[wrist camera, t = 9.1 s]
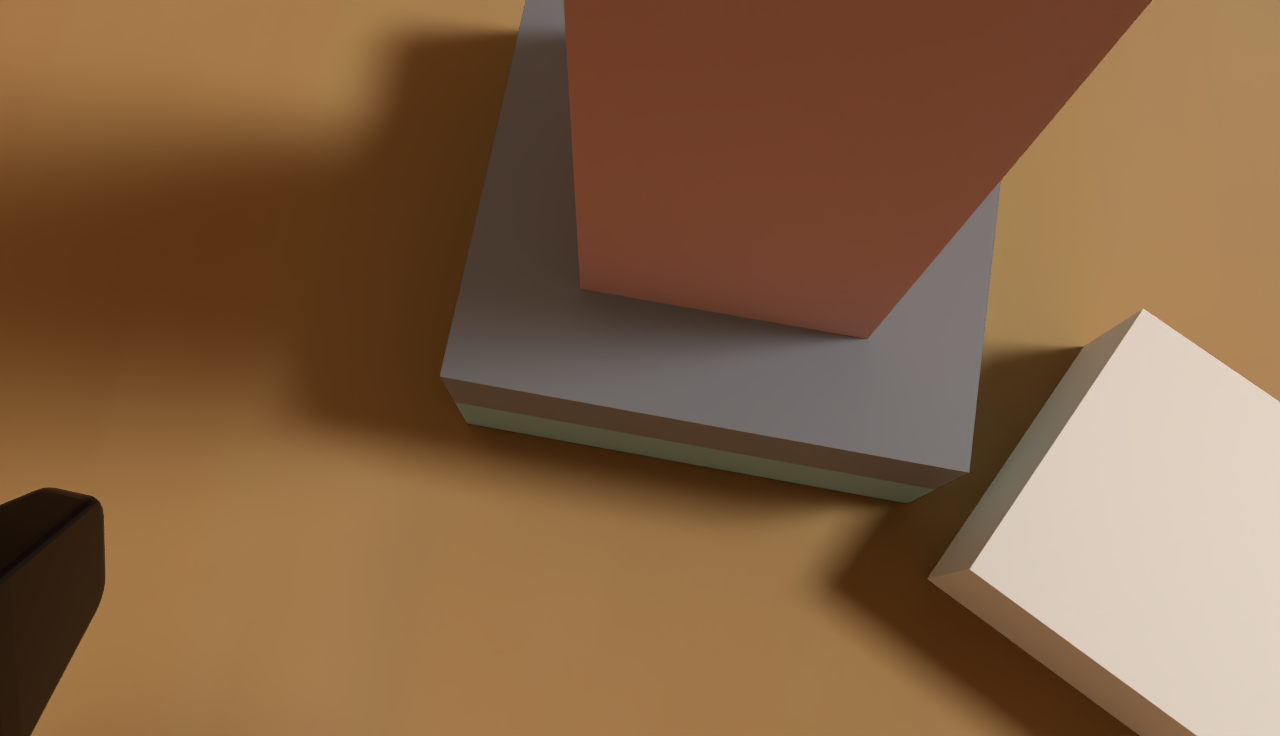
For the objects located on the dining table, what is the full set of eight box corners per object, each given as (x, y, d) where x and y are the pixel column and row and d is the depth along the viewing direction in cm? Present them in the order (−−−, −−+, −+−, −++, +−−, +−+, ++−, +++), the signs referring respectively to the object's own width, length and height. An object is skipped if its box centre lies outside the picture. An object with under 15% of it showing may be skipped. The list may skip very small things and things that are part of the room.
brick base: (907, 503, 23) (969, 472, 19) (466, 423, 23) (439, 376, 19) (955, 102, 25) (1020, 1, 21) (553, 30, 25) (544, -84, 21)
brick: (1325, 521, 24) (1427, 503, 21) (1178, 768, 22) (1265, 786, 19) (1078, 350, 24) (1143, 308, 21) (922, 580, 23) (969, 569, 20)
